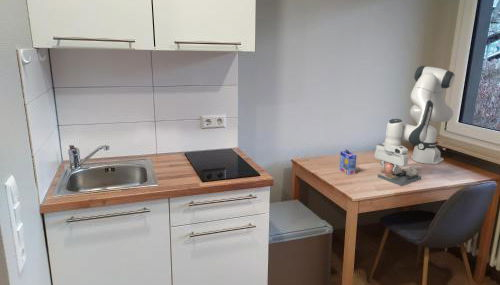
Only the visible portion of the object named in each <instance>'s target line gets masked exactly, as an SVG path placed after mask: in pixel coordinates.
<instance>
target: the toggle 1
mask: <svg viewBox="0 0 500 285" xmlns="http://www.w3.org/2000/svg"><path fill="white" fill-rule="evenodd" d="M394 167H395V166H394ZM401 170H402V167H401V166H398V167H397V168H396V171H393V174H395V175H397V174H398V173H401Z"/></svg>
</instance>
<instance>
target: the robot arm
mask: <svg viewBox="0 0 500 285" xmlns="http://www.w3.org/2000/svg"><path fill="white" fill-rule="evenodd" d="M455 76H456V74H455V73H454V72H453V71H451V70H447V69H444V68H440V67H435V66H434V67H433V66H427V65H420V66H418V67H417V68H416V69H415V72H414V77H413V78H414V80H415V81H416V82H415V84H414V86H413V88H412V89H411V92H410V100H411V103H413V105H412V106H411V108H409V115H410V117H411V118H412V119H413V120H414V121H415V123H416V124H417V125H411V124H408V123H405V122H404V121H403V120H402V119H400V118H391V119H390V120H388V122H387V125H386V130H385V138H384V141H383V143H384V145H383V143H377V144H376V146H375V151H374V158H375V159H377V160H378V161H379V160H382V164H383V165H382V169H385V164H386V163H385V162H389V163H392V164H394V166H395V167H394V168H392V171H396V168H397V167H398V166H399V167H400V168H404V167H407V166H408V163H409V155H408V153H409V149H408V148H407V147H406V146H404V145H402V142H401V141H403V142H408V143H411V144H413V145H415V146H414V148H413V153H412V155H411V156H410V158H411V159H412V161H414V162H417V163H421V164H426V165H427V164H428V165H438V164H440V163H441V162H443V161H444V158H443V157H441V151H440V149H439V148H438V147H437V145H439V143H440V142H439V141H437V136H438V131H437V129H436V128H435V127H434V126H432V125H430V122H437V123H443V122H445V123H446V122H447V123H448V122H449V121H451V120H452V118H453V116H454V111H453V109H452V107H450V106H449V105H448V104H447V103H446V101H445V100H446V99H445V95H446V89H449V88H451V87H452V85H453V84H454V82H455Z"/></svg>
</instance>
